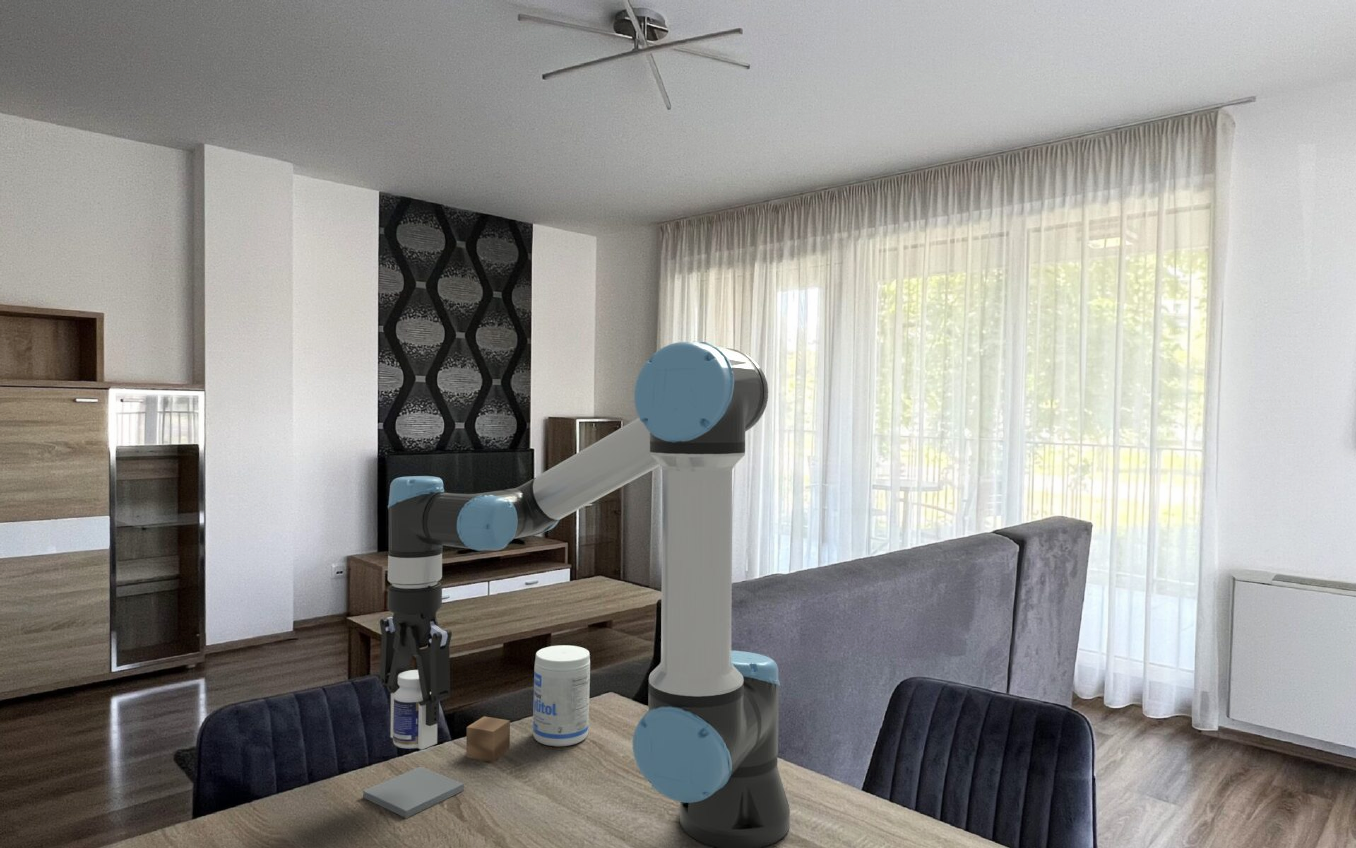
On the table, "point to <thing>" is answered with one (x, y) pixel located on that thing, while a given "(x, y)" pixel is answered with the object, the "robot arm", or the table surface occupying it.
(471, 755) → the walnut cube
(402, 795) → the slate coaster
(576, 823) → the table surface
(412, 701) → the pill bottle
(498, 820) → the table surface
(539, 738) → the supplement tub
